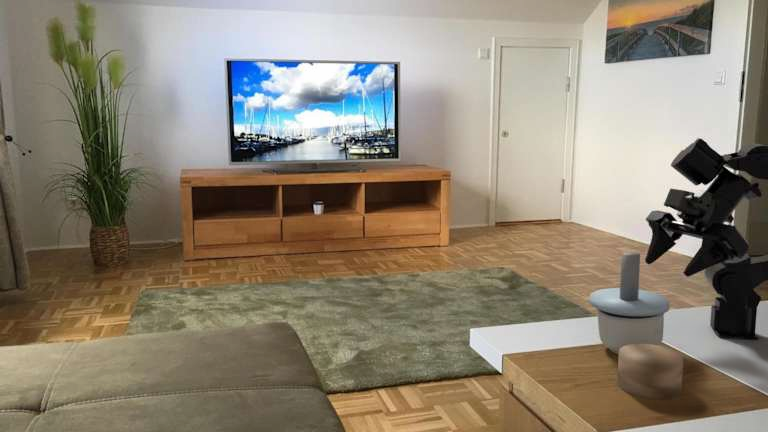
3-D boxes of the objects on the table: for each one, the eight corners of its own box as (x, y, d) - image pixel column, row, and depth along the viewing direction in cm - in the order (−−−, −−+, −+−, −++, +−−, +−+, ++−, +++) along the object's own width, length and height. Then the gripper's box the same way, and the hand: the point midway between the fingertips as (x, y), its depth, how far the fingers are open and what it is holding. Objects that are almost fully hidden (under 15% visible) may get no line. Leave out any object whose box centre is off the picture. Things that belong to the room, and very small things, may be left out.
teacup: (668, 364, 105) (671, 318, 103) (599, 361, 107) (601, 315, 105) (651, 334, 118) (653, 293, 117) (590, 332, 120) (591, 291, 119)
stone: (674, 375, 100) (675, 345, 99) (687, 401, 92) (689, 368, 91) (614, 371, 102) (615, 342, 101) (621, 396, 94) (623, 364, 93)
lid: (677, 300, 112) (680, 250, 111) (658, 321, 102) (661, 266, 100) (603, 289, 120) (604, 242, 118) (578, 307, 110) (580, 257, 108)
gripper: (656, 167, 119) (605, 230, 118) (740, 177, 102) (681, 251, 100) (687, 205, 123) (638, 267, 122) (773, 221, 106) (717, 293, 104)
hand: (665, 268), depth 112 cm, fingers open, 9 cm apart
